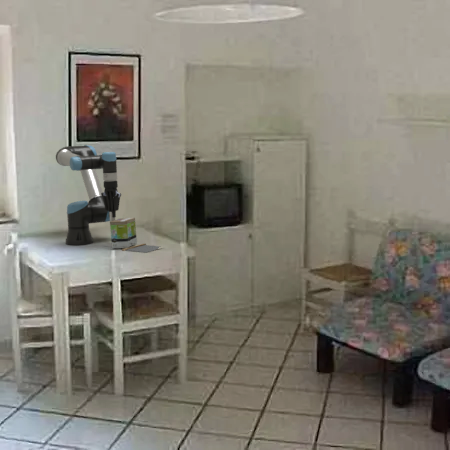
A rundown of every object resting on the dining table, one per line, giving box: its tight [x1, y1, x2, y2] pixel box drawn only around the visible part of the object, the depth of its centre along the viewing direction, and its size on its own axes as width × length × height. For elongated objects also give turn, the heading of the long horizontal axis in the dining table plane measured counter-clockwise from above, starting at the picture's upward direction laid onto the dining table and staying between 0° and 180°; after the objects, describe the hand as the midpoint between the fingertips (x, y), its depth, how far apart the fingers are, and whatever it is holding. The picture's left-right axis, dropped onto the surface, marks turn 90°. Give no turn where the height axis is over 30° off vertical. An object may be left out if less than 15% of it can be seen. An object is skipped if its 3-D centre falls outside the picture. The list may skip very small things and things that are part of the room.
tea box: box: [109, 217, 138, 249], centre depth 416 cm, size 15×10×15 cm, turn 170°
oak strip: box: [121, 243, 147, 252], centre depth 413 cm, size 2×18×1 cm, turn 146°
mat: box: [126, 244, 160, 254], centre depth 409 cm, size 14×16×1 cm
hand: (112, 223), depth 419 cm, fingers closed
